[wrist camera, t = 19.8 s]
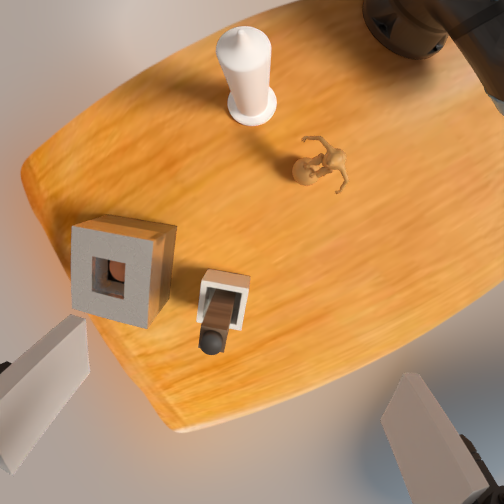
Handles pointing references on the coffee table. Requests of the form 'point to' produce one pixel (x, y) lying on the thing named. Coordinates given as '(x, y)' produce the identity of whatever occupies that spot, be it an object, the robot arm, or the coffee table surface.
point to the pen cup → (224, 282)
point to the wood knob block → (217, 322)
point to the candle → (247, 74)
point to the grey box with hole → (136, 268)
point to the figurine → (309, 170)
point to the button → (117, 270)
